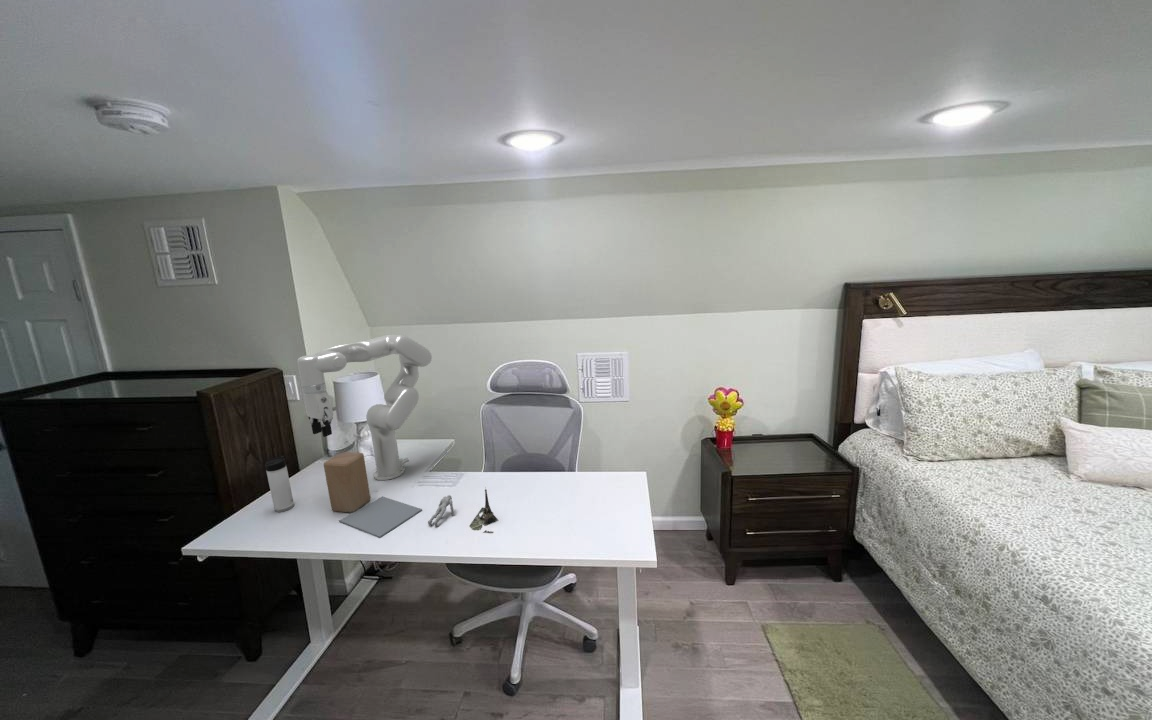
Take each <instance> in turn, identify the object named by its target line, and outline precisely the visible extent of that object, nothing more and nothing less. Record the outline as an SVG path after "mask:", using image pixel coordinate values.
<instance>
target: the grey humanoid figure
mask: <svg viewBox="0 0 1152 720" xmlns="http://www.w3.org/2000/svg"><path fill="white" fill-rule="evenodd" d="M452 498H453V497H452V495H450V494H448V495H447V496H443V497H442V498H441V499H440V501H439V504H438V507H437V509H436V511H435V514H433V515H432V516H431V518H430V519H428V521H427V524H428V526H432V525H434V527H437V528H438V527H439V520H441V519H442V518H443V516H444V515H445V513H446V511H447V507H448V506H450V507H449V509H450V511H451V513H450V514H451V516H452V517H454V515H455V514H454V506H453V499H452ZM433 520H434V521H433Z"/></svg>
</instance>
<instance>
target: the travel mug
mask: <svg viewBox="0 0 1152 720" xmlns="http://www.w3.org/2000/svg"><path fill="white" fill-rule="evenodd" d="M264 466H265V472H266V476H267V482H268V485H269V489H270V490H269V491H270V494H271V499H272V503H273V504H272V505H273V508H274V512H276V513H284V512H286V511H289V510H291V509H293V507H294V506H295V502H294V497H293V493H292V487H291V482H290V477H289V472H288V467H287V464H286V456H285V455H280V456H277V457H274V458H270V459H269V460H267V461H266V462H265V465H264Z"/></svg>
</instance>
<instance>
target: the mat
mask: <svg viewBox="0 0 1152 720" xmlns="http://www.w3.org/2000/svg"><path fill="white" fill-rule="evenodd" d="M422 511H423V509H422V508H420V507H416V506H413V505H410V504H407V503H404V502H401V501H398V500H395V499H392V498H390V497H386V496H383V495H382V496H380V497H378V498H377V499H375V500H373V501H371V502H369V503H367V504H365V505H363V506H362V507H361V508H359V509H358V510H357V511H355V512H353V513H349V514H348V515H345V516H344V517H343V518H341V519H339V520H338V523H341V524H343V525H346V526H348V527H351V528H353V529H356V530H358V531H361V532H363V533H367V534H369V535H371V536H374V537H375V538H378V539H381V538H383V537H384V536H385V535H387V534H389V533H390V532H392V531H393V530H394V529H396V528H397V527H400V526H401V525H403V524H404V523H405V522H407V521H409V520H410V519H412V518H413V517H415V516H416V515H418V514H419V513H421V512H422Z"/></svg>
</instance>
